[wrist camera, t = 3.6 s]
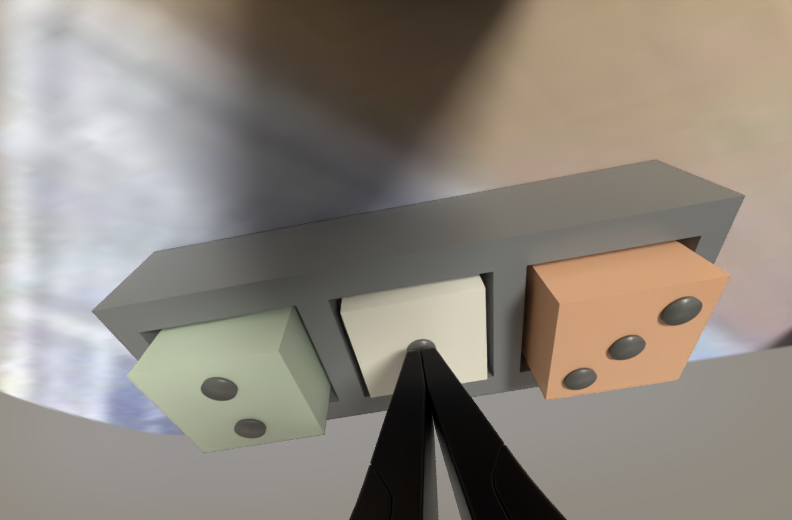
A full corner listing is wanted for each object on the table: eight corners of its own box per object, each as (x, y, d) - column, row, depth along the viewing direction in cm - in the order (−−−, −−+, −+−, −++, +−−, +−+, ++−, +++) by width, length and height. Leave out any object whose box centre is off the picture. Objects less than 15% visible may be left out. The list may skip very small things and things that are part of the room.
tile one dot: (463, 241, 11) (486, 290, 9) (469, 326, 13) (488, 381, 11) (346, 262, 11) (339, 315, 9) (371, 342, 13) (371, 400, 11)
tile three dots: (654, 226, 10) (734, 278, 8) (624, 321, 12) (680, 382, 10) (520, 249, 10) (561, 307, 8) (516, 339, 12) (547, 403, 10)
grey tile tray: (656, 159, 10) (745, 195, 8) (614, 309, 14) (666, 366, 12) (154, 251, 11) (91, 311, 9) (237, 372, 15) (210, 437, 12)
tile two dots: (297, 288, 10) (277, 354, 8) (332, 369, 12) (324, 437, 10) (175, 310, 10) (124, 379, 8) (231, 385, 13) (202, 456, 10)
